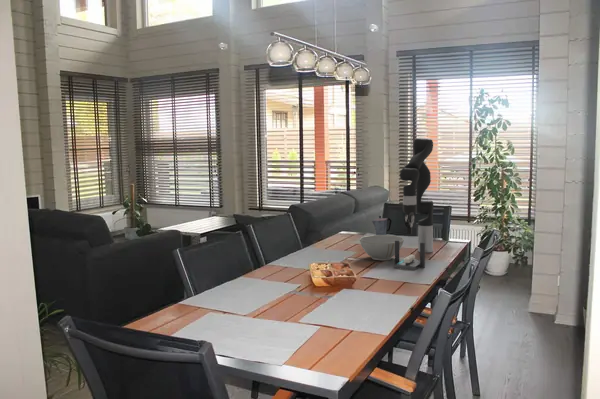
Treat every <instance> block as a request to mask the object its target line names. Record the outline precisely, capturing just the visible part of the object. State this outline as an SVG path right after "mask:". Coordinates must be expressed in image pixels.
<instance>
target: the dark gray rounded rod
mask: <svg viewBox="0 0 600 399" xmlns="http://www.w3.org/2000/svg"><path fill="white" fill-rule="evenodd" d="M398 262H400V250H399V241H395V255H394V265H395V264H396V263H398Z"/></svg>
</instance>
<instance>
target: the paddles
mask: <svg viewBox="0 0 600 399" xmlns="http://www.w3.org/2000/svg"><path fill="white" fill-rule="evenodd" d="M403 259H404V262H405V263H410V261H413V260H416V256H415V254H408V255H406V257H403Z"/></svg>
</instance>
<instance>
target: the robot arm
mask: <svg viewBox="0 0 600 399" xmlns="http://www.w3.org/2000/svg"><path fill="white" fill-rule="evenodd" d="M433 150H434V141H433V139H431V138H418V137H417V138H415V139H414V141H413V154H414V155H413V156H412V157H411V158H410V159H409V162H408V163H407V164H406V165H404V166H403V167H402V169H401V170H400V172H399V177H400V179H401V181H405V182H411V183H410V184H406V185H404V186H403V188H402V189H403V190H402V192H403V193H402V196H403V198H402V211H403V213H405V216H404V219H403V221H404V225H405V227H406V228H407V230H406V231H407V234H408V235H412V234H413V226H414V224H415V220H416V216H415V215H414V213H416V214H417V215H420V216H421V215H424V216H426V215H427V216H426V217H425V218H422V219H419V220H418V221H417V223H418V225H417V226H418V227H417V229H418V230H417V234H418V236H417V237H418V240H417V247H418V248H417V249H418V250H417V251H418V252H419V253H420V243H425V254H426V253H433V252H434V202H433V200H429V199H428V200H422V198H423V196H424V194H425V192H426V191H427V189H428V188H429V186H430V185H431V182H432V181H431V178H432V176H431V170H430V169H429V167H428V166H427V165H426V163H425V161H426V160H427V158H428V157H429V156H430V155H431V153H432V151H433Z"/></svg>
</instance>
